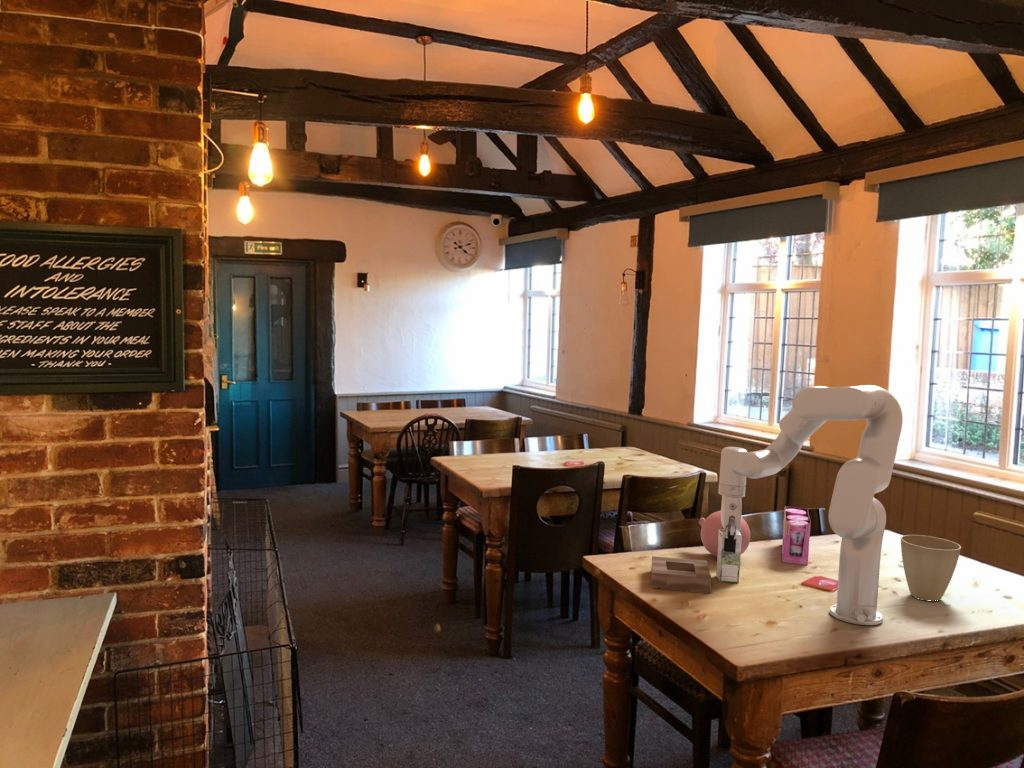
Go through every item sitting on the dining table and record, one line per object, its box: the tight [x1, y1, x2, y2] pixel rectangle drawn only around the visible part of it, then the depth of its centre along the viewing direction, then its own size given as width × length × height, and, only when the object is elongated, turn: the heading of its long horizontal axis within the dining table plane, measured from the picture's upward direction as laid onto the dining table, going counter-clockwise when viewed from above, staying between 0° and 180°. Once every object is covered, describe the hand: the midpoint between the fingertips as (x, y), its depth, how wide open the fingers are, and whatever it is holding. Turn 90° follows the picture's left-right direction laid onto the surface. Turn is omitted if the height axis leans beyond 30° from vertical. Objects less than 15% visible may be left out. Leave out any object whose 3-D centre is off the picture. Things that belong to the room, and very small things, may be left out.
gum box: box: [781, 506, 811, 566], centre depth 253 cm, size 24×8×14 cm, turn 161°
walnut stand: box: [650, 555, 712, 594], centre depth 222 cm, size 16×16×4 cm
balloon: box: [698, 510, 751, 558], centre depth 249 cm, size 15×20×15 cm
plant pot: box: [900, 534, 962, 601], centre depth 215 cm, size 15×15×16 cm
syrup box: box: [715, 529, 742, 584], centre depth 225 cm, size 6×6×14 cm
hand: (727, 546), depth 225 cm, fingers open, 9 cm apart
